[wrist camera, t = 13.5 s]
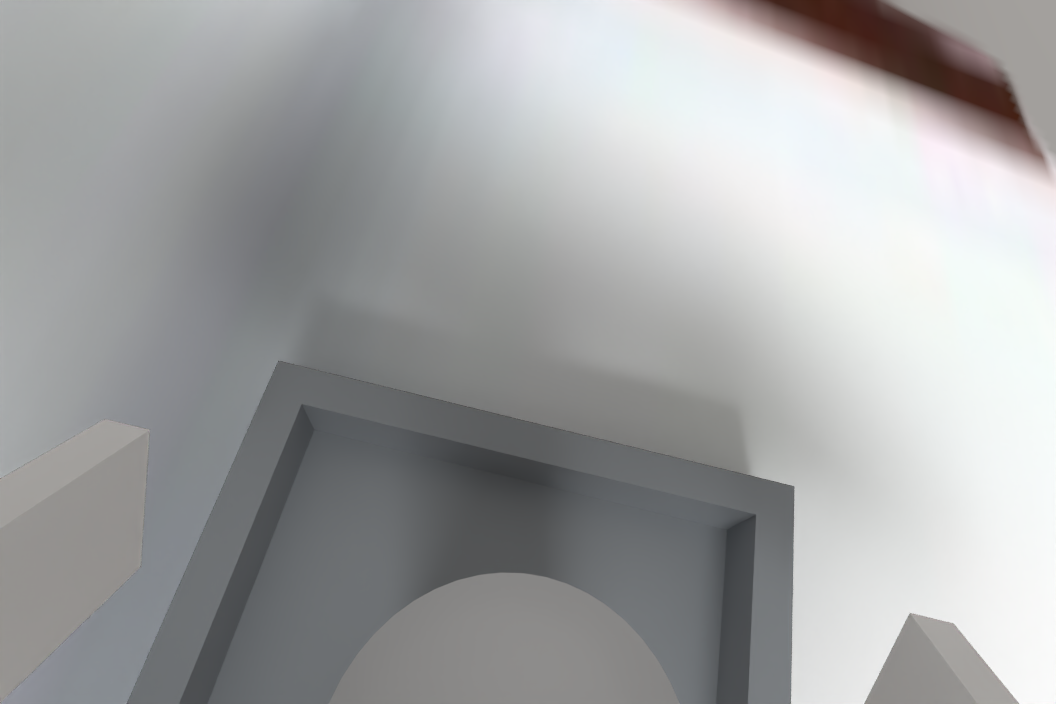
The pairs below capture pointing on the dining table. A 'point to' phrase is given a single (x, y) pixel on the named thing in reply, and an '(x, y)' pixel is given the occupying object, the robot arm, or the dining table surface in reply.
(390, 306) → the dining table surface
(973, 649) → the robot arm
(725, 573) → the charcoal tray
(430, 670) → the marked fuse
